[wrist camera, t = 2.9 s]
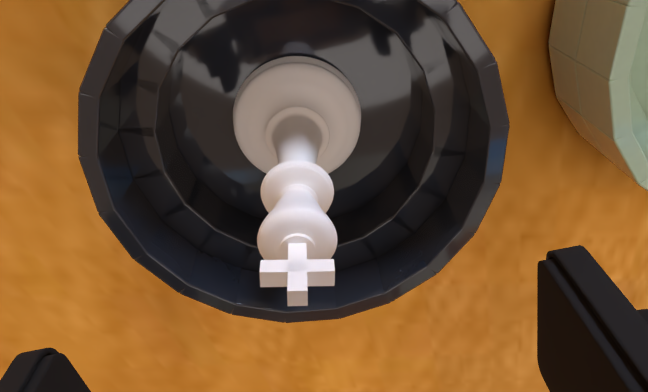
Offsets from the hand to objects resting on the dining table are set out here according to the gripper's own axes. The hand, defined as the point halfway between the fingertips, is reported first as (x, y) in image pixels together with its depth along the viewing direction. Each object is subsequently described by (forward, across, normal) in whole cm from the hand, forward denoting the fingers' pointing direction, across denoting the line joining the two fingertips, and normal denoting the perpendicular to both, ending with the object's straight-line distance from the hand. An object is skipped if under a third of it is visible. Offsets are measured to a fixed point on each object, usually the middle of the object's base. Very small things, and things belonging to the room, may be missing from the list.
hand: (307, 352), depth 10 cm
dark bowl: (+12, 0, 0) cm, 12 cm away
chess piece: (+11, 0, 0) cm, 11 cm away
